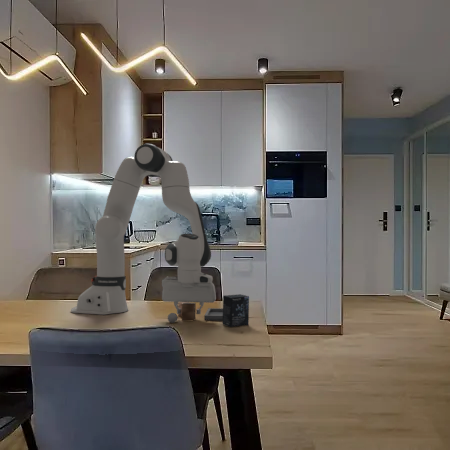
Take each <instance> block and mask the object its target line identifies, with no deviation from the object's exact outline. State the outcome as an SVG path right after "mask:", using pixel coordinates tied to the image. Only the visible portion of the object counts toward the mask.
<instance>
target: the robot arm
mask: <svg viewBox="0 0 450 450" xmlns="http://www.w3.org/2000/svg"><path fill="white" fill-rule="evenodd" d="M146 177H150V178H160V182H161V197H162V203H163V204H164V205H165V206H166V208H168V209H169V210H170V211H172V212H174V213H175V214H179V215H181V216H182V217H184V218H186V219H187V220H188V222H189V224H190V225H189V226H190V229H191V233H181V234H180V235H179V236H178V239H177V240H175V241H173V242H170V243H168V244H167V245H166V247H165V249H164V261H165V262H166V263H167V264H168V265H169V266H172V267H177V276H166V277H164V278H162V280H161V287H162V293H161V300H162V301H163V302H166V303H167V302H171V303H172V302H173V306H174V307H175V309H176V315H178V314H181V308H179V307H178V303H179V302H189V303H199V306H200V307H199V308H197V309H196V313H195V315H201V314H202V308H203V307H204V303H210V304H211V303H214V302H216V299H217V294H216V286H215V284H214V283H213V280H214V279H213V277H214V276H212V275H209V274H207V273H205V272H202V268H203V267H205V266H206V265H207V264H208V263H209V262H210V260H211V257H212V251H211V247H210V245H209V241H208V238H207V234H206V231H205V227H204V226H205V225H204V222H203V221H204V220H203V217H202V213H201V209H200V206H199V204H198V203H197V202H196V201H195V200H194V198H193V196H192V193H191V190H190V181H189V180H190V179H189V175H188V171H187V167H186V165H185V164H184V163H183V162H181V161H176V160H173V158H172V156H171V155H170V154H169V153H167V152H166V151H165V150H164V149H163V148H160V147H158V146H156V145H155V144H152V143H144V144H141V145H139V146H138V147H137V149H136V150H135V152H134V156H130V157H129V156H127V157H125V158H124V159H122V162H121V163H120V165H119V166H118V169H117V171H116V172H115V175H114V177H113V181H112V183H111V187H110V190H109V192H108V195H107V198H106V204H105V207H104V210H103V215H102V217H100V218H99V219H98V220H97V221H96V223H95V229H94V230H95V233H94V234H95V248H96V275H94V277H92V278H91V283H92V285H91V286H90V287H88V288H87V289H86V290H84V291H83V292H82V293H81V294H80V295H78V298H77V302H76V306H74V307H72V308H71V309H70V312H71V313H73V314H92V315H110V314H119V313H124V312H127V311H129V307H128V302H127V298H126V288H127V284H126V283H127V279H126V273H125V272H126V271H125V270H126V269H125V266H126V265H125V263H126V259H125V257H126V256H125V237H124V236H125V234H126V233H127V229H128V226H129V223H130V220H131V216H132V215H133V209H134V206H135V203H136V201H137V198H138V195H139V192H140V190H141V186H142V183H143V181H144V179H145V178H146Z"/></svg>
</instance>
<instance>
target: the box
mask: <svg viewBox="0 0 450 450" xmlns="http://www.w3.org/2000/svg"><path fill="white" fill-rule="evenodd" d="M222 308H223V321H222V325H223V326H227V327H230V328H233V327H240V326H241V327H242V326H249V321H250V318H249V316H250V313H249V312H250V297H249V295H246V294H229V295H227V294H226V295H225V294H224V295H223V296H222Z"/></svg>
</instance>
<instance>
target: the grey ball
mask: <svg viewBox="0 0 450 450" xmlns="http://www.w3.org/2000/svg"><path fill="white" fill-rule="evenodd" d="M178 317H179V316H178V314H177V313H175V312H171V313H169V314H168V316H167V321H168V322H169V323H171V324H174V323H176V322H177V321H178Z"/></svg>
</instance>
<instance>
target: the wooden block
mask: <svg viewBox="0 0 450 450" xmlns="http://www.w3.org/2000/svg"><path fill="white" fill-rule="evenodd" d="M183 303H190V302H178V307H179V308H181V314H177V317H182V304H183Z"/></svg>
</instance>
